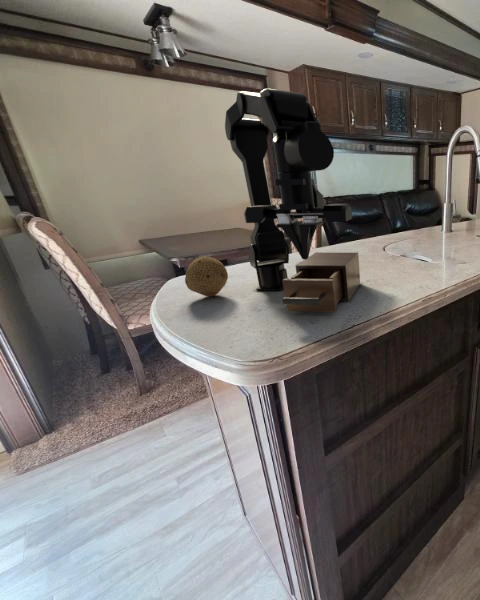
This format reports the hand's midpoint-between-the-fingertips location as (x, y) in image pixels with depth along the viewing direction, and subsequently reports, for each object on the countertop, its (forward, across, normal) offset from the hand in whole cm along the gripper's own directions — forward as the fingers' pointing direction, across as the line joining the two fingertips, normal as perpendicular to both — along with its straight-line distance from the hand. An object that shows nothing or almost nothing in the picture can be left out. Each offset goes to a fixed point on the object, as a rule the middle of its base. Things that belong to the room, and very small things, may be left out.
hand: (305, 258), depth 62 cm
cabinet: (+12, 0, -15) cm, 19 cm away
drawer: (+11, 0, -4) cm, 12 cm away
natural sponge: (+12, +29, -10) cm, 33 cm away
